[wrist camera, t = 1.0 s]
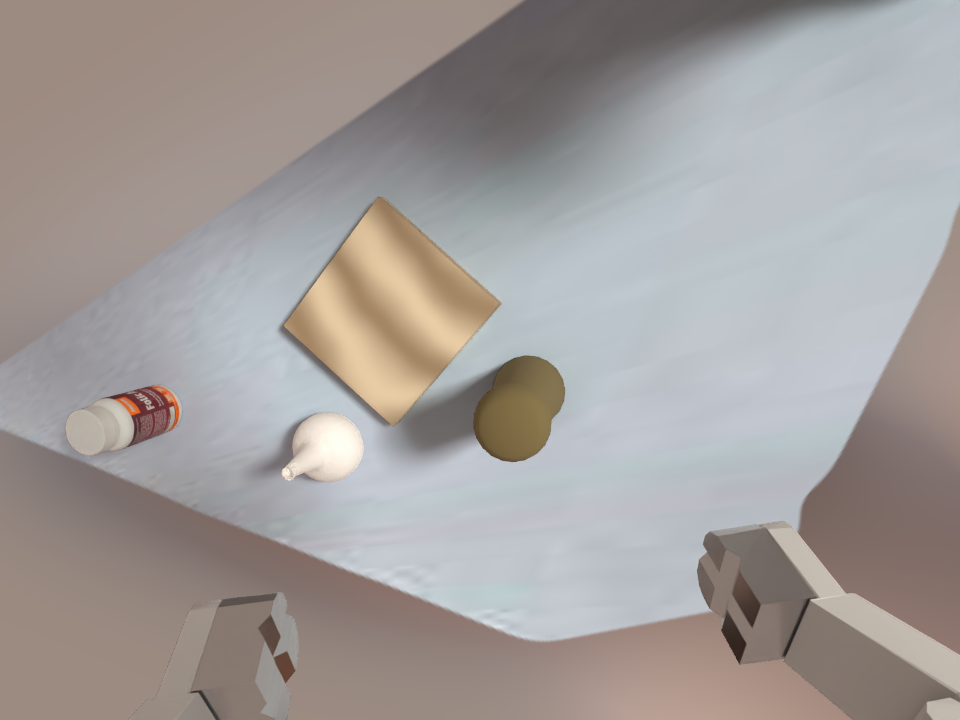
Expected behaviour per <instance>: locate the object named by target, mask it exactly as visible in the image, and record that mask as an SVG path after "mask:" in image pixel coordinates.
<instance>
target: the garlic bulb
mask: <svg viewBox="0 0 960 720" xmlns="http://www.w3.org/2000/svg"><path fill="white" fill-rule="evenodd" d="M292 451H293V456H294V458H293V459H292V460H291V461H290V462H289V463H288V465H286V466H285V468H283V469H282V471H281V472H282V477H283V478H284V479H285V480H286V479H287V480H290V479H291V480H293V479H294V477H295V476H298V475H300V474H302V473H305V474H306V475H307V476H309V477H311V478H312V479H315V480H317V481H322V482H334V481H338V480H341V479H344V478H345V477H347V476H348V475H350V474H351V473H352V472H353V471H354V470H355V469H356V468H357V466H358V465H359V463H360V461H361V458H362V455H363V440H362V437H361V434H360V432H359V430H358V429H357V427H356V426H355V425H354V424H353V423H352V422H351V421H350V420H349V419H348V418H346V417H345V416H342V415H340V414H337V413H333V412H323V413H318V414H315V415H313V416H311V417H309V418H307V419H306V420H305V421H303V422H302V423H301V424H300V426H299V427H298V429H297V430H296V432H295V434H294V438H293V442H292Z"/></svg>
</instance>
